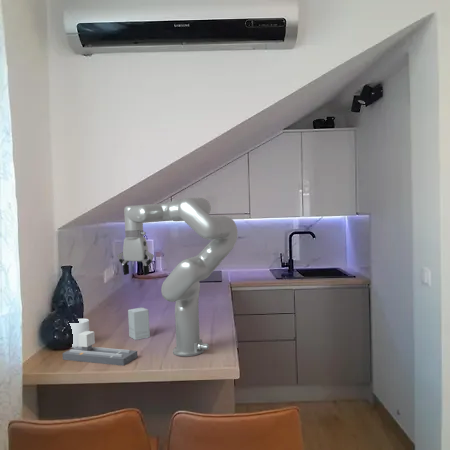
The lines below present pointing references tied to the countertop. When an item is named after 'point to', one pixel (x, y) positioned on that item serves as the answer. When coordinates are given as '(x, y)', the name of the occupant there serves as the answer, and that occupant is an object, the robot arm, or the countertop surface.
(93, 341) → the cap
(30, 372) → the countertop surface
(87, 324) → the mug
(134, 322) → the supplement box
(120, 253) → the robot arm
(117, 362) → the fader console
